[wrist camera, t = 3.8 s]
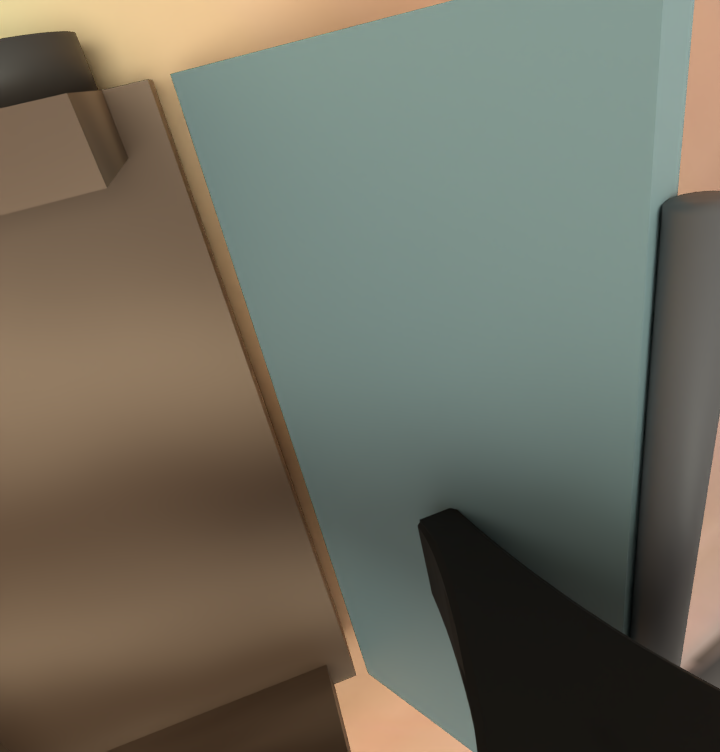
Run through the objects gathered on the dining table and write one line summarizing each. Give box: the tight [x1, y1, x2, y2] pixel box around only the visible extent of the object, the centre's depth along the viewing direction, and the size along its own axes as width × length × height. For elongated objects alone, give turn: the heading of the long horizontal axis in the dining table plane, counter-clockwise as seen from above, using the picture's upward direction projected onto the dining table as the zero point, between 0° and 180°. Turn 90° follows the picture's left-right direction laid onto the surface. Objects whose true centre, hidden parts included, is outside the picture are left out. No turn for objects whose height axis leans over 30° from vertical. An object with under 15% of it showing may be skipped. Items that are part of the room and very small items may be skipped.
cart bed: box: [0, 31, 356, 752], centre depth 10 cm, size 18×10×6 cm, turn 12°
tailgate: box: [170, 0, 720, 752], centre depth 10 cm, size 16×1×8 cm
